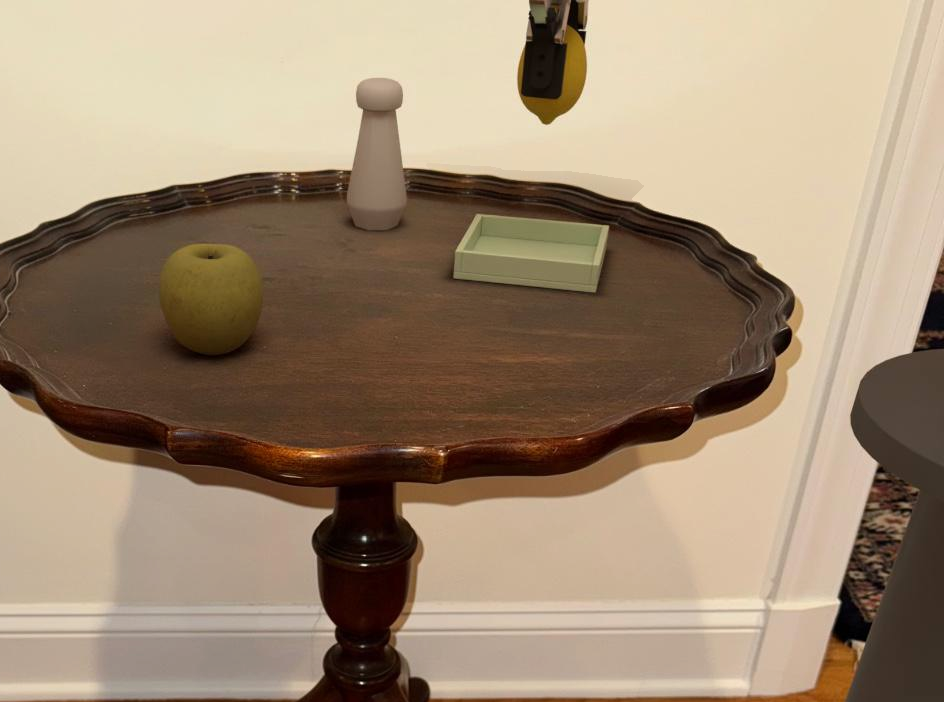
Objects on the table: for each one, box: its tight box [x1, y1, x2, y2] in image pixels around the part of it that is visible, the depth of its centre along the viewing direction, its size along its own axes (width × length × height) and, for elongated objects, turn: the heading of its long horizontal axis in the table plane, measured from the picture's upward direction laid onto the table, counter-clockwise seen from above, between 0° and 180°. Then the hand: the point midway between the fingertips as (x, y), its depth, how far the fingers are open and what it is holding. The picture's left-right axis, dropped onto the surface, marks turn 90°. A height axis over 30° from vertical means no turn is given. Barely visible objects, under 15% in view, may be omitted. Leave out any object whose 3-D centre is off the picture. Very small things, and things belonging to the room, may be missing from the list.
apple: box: [158, 243, 264, 356], centre depth 83 cm, size 8×8×7 cm
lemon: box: [516, 18, 588, 126], centre depth 91 cm, size 6×6×8 cm
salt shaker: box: [346, 77, 408, 231], centre depth 106 cm, size 6×6×13 cm
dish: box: [452, 213, 610, 294], centre depth 100 cm, size 12×11×2 cm
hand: (551, 87), depth 92 cm, fingers closed on lemon, 5 cm apart
